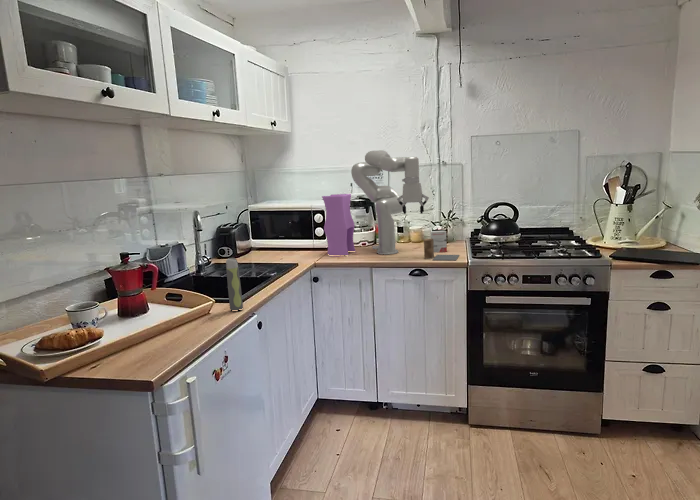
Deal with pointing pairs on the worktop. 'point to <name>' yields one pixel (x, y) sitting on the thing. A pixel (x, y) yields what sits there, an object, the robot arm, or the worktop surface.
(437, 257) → the mat
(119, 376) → the worktop surface
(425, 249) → the walnut block
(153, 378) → the worktop surface
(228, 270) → the grey green tall block
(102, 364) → the worktop surface
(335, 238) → the container
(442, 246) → the ink box
